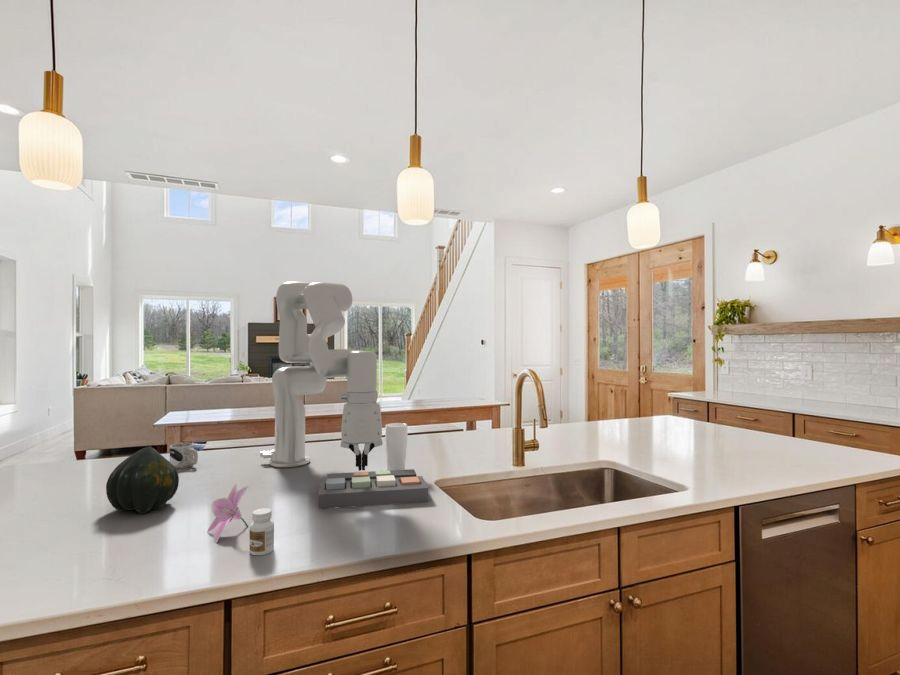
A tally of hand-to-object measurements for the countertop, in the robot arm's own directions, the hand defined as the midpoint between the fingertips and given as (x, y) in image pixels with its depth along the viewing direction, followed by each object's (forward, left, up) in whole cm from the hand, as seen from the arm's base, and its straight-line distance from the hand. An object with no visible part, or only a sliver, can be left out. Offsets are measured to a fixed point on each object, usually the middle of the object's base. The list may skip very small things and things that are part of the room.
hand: (361, 469), depth 123 cm
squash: (-52, +3, -8) cm, 53 cm away
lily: (-28, -16, -8) cm, 33 cm away
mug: (-54, +41, -8) cm, 68 cm away
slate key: (-7, 0, -5) cm, 8 cm away
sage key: (0, 0, -5) cm, 5 cm away
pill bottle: (-20, -27, -8) cm, 34 cm away
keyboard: (+3, +2, -8) cm, 8 cm away
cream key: (+6, 0, -5) cm, 8 cm away
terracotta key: (+13, 0, -6) cm, 14 cm away
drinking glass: (+11, +20, -8) cm, 24 cm away
